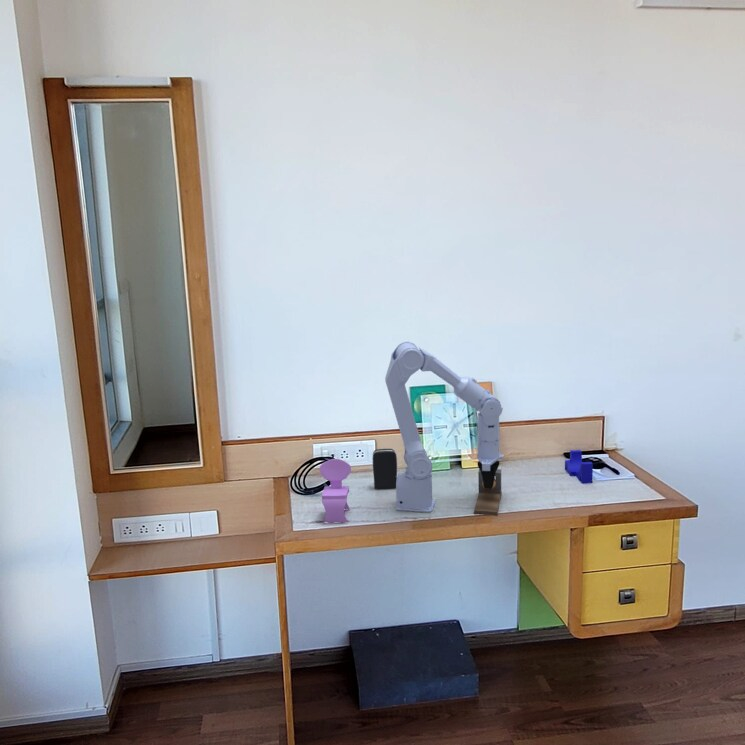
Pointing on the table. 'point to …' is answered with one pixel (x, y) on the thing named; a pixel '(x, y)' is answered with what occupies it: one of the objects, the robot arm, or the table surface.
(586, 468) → the blue stepped block
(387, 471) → the battery
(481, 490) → the housing
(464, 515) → the table surface
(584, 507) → the table surface
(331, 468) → the toy chair
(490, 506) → the board
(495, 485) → the light bulb
